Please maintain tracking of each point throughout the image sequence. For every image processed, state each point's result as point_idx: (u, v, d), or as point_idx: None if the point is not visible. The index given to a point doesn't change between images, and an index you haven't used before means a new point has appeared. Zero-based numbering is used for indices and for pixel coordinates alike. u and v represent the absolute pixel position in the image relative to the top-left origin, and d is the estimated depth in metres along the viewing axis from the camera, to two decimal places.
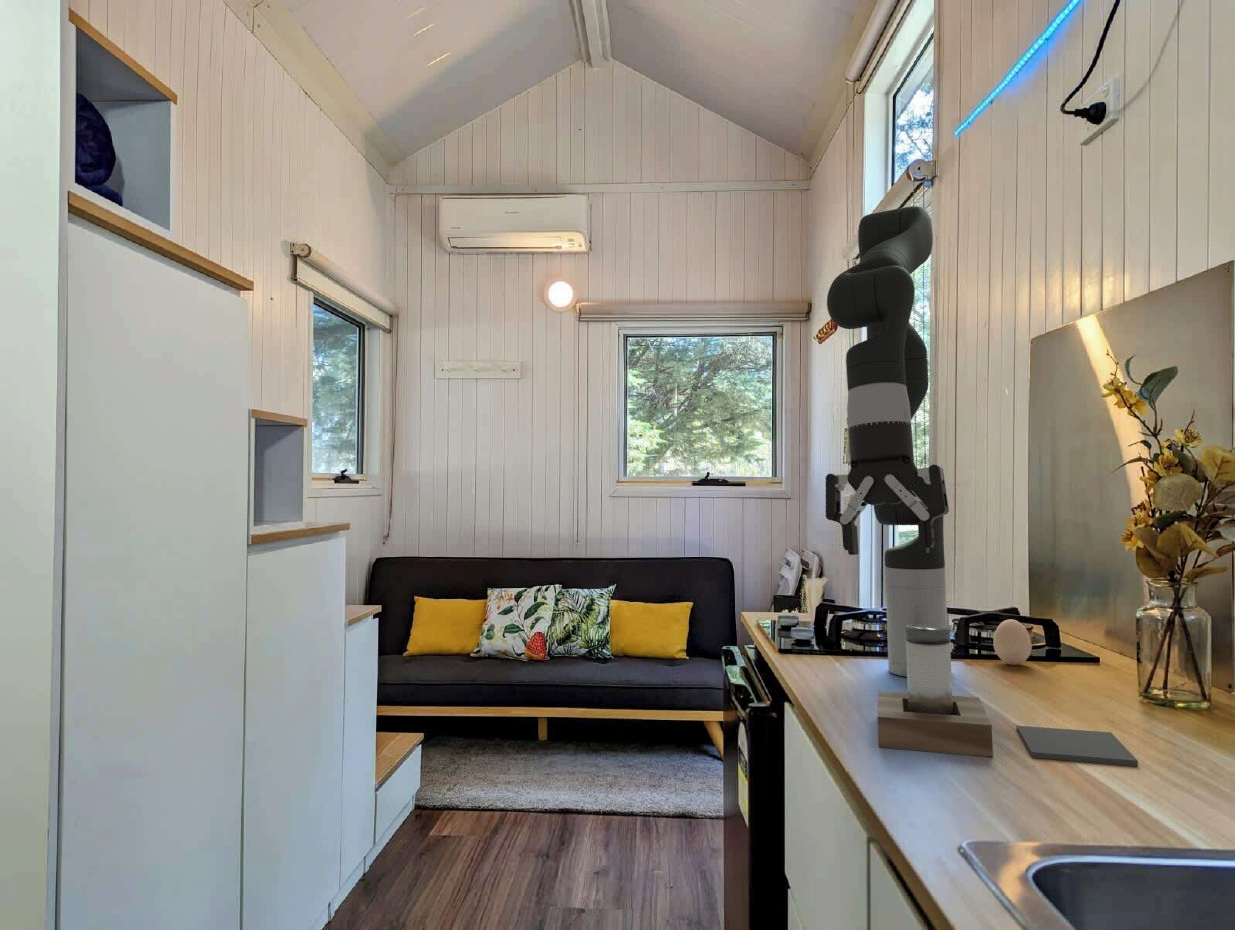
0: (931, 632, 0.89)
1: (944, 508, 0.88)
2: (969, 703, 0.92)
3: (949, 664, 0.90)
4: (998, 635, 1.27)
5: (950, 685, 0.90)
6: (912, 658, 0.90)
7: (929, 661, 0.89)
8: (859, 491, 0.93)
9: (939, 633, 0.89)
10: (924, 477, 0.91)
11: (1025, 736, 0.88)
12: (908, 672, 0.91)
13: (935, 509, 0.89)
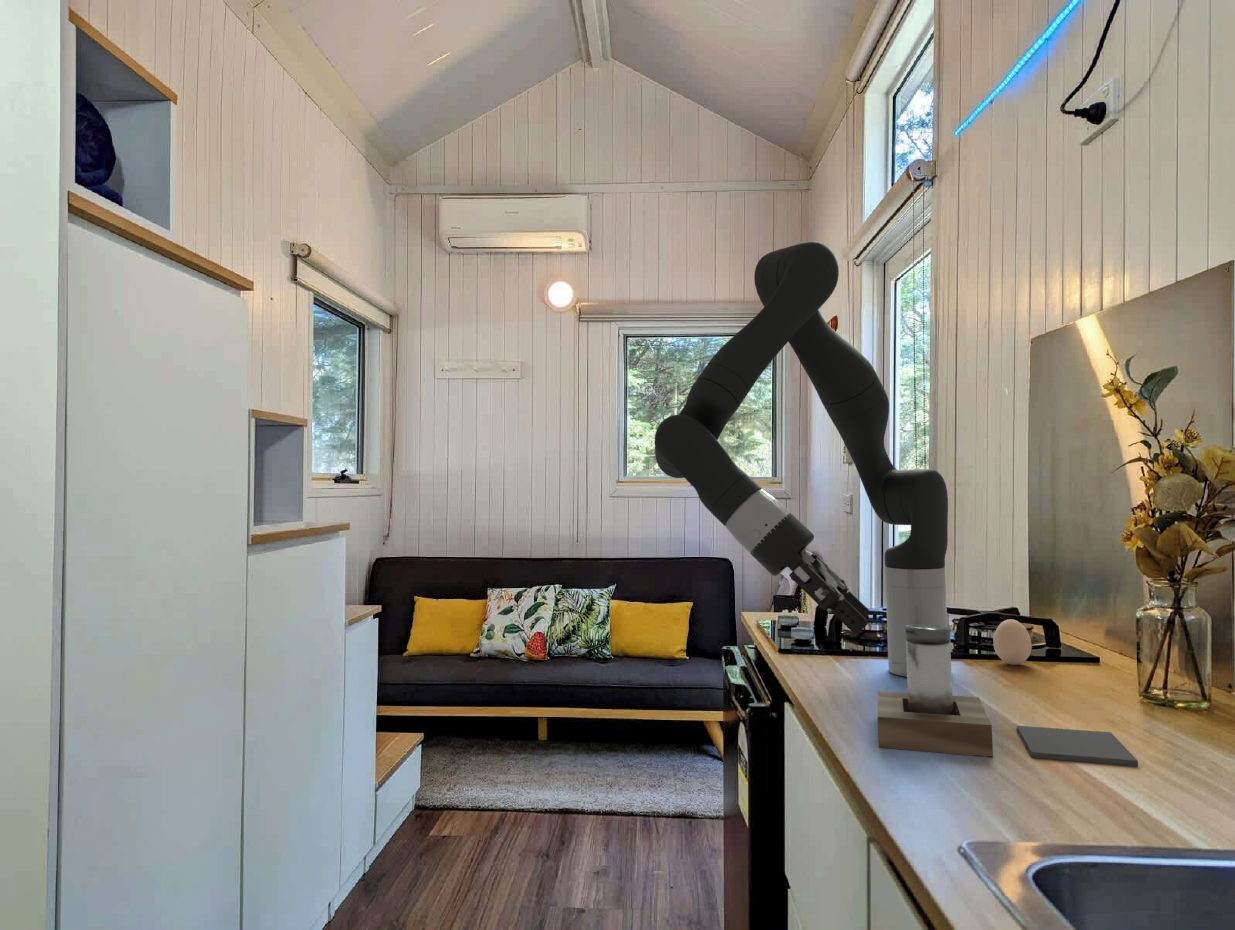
0: (931, 632, 0.89)
1: (822, 607, 0.89)
2: (969, 703, 0.92)
3: (949, 664, 0.90)
4: (998, 635, 1.27)
5: (950, 685, 0.90)
6: (912, 658, 0.90)
7: (929, 661, 0.89)
8: None
9: (939, 633, 0.89)
10: None
11: (1025, 736, 0.88)
12: (908, 672, 0.91)
13: None
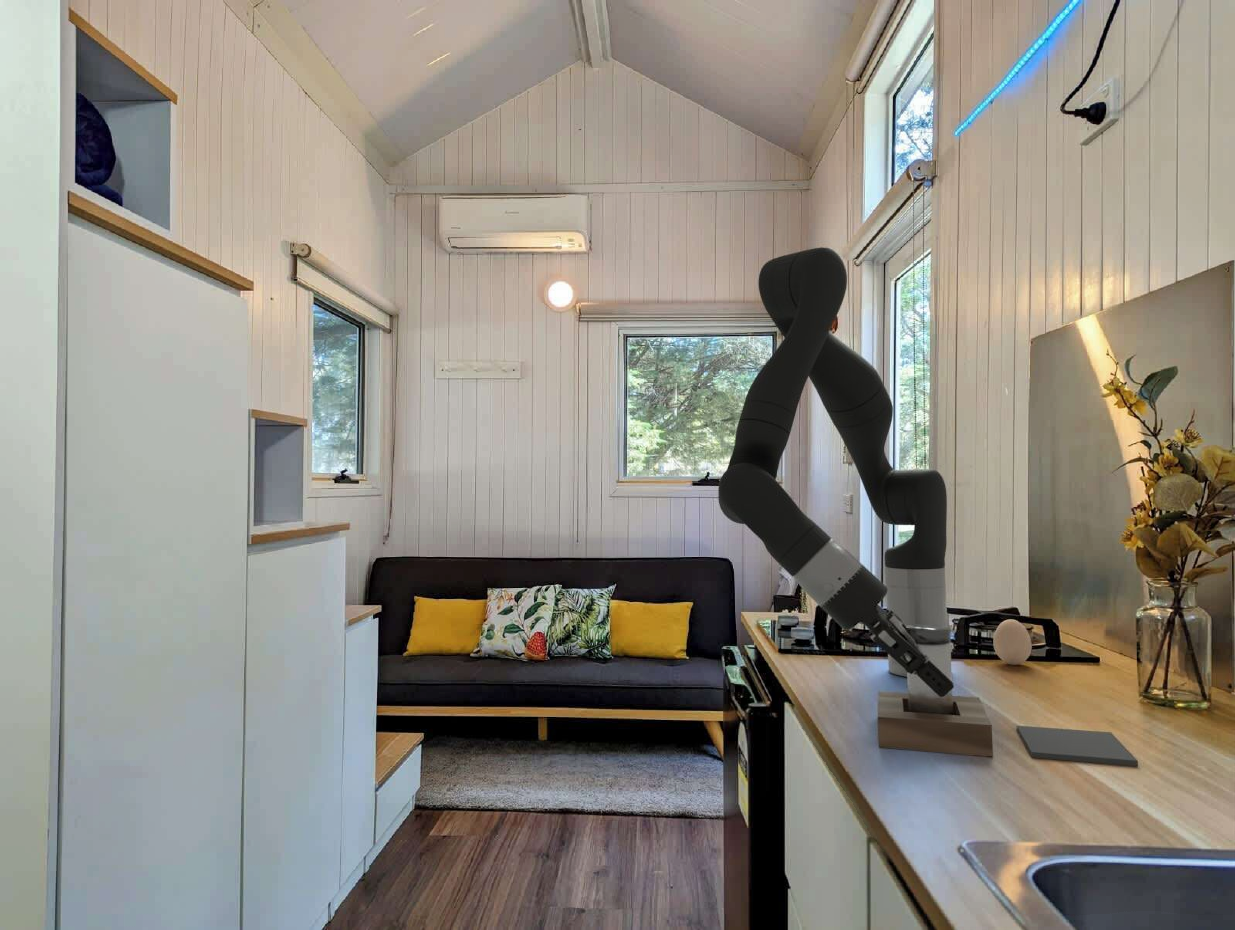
0: (931, 632, 0.89)
1: (909, 671, 0.87)
2: (969, 703, 0.92)
3: (949, 664, 0.90)
4: (998, 635, 1.27)
5: None
6: None
7: None
8: None
9: (939, 633, 0.89)
10: None
11: (1025, 736, 0.88)
12: None
13: None
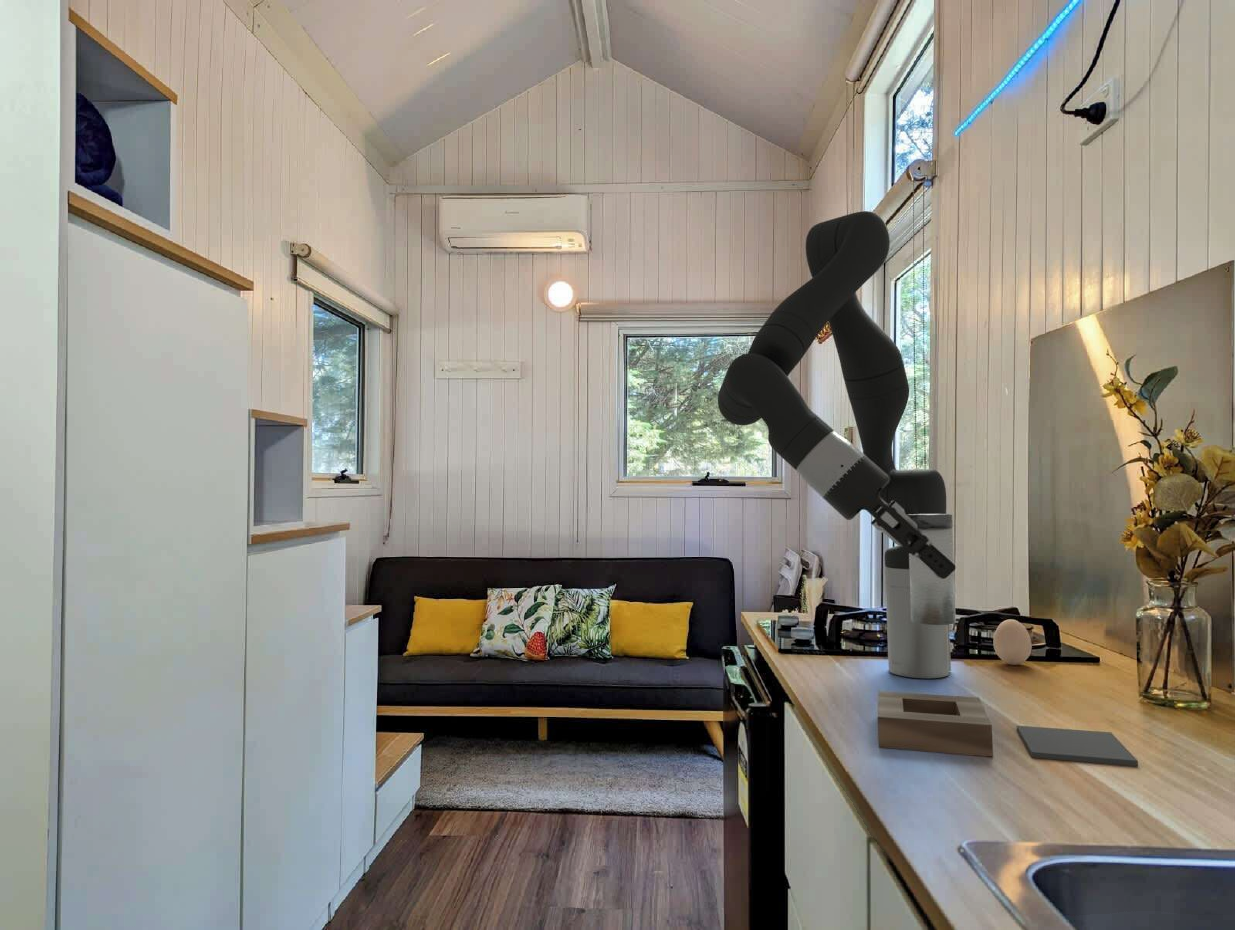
0: (933, 516, 0.89)
1: (911, 551, 0.87)
2: (969, 703, 0.92)
3: (951, 548, 0.90)
4: (998, 635, 1.27)
5: None
6: None
7: None
8: None
9: (941, 517, 0.89)
10: None
11: (1025, 736, 0.88)
12: (910, 558, 0.92)
13: None
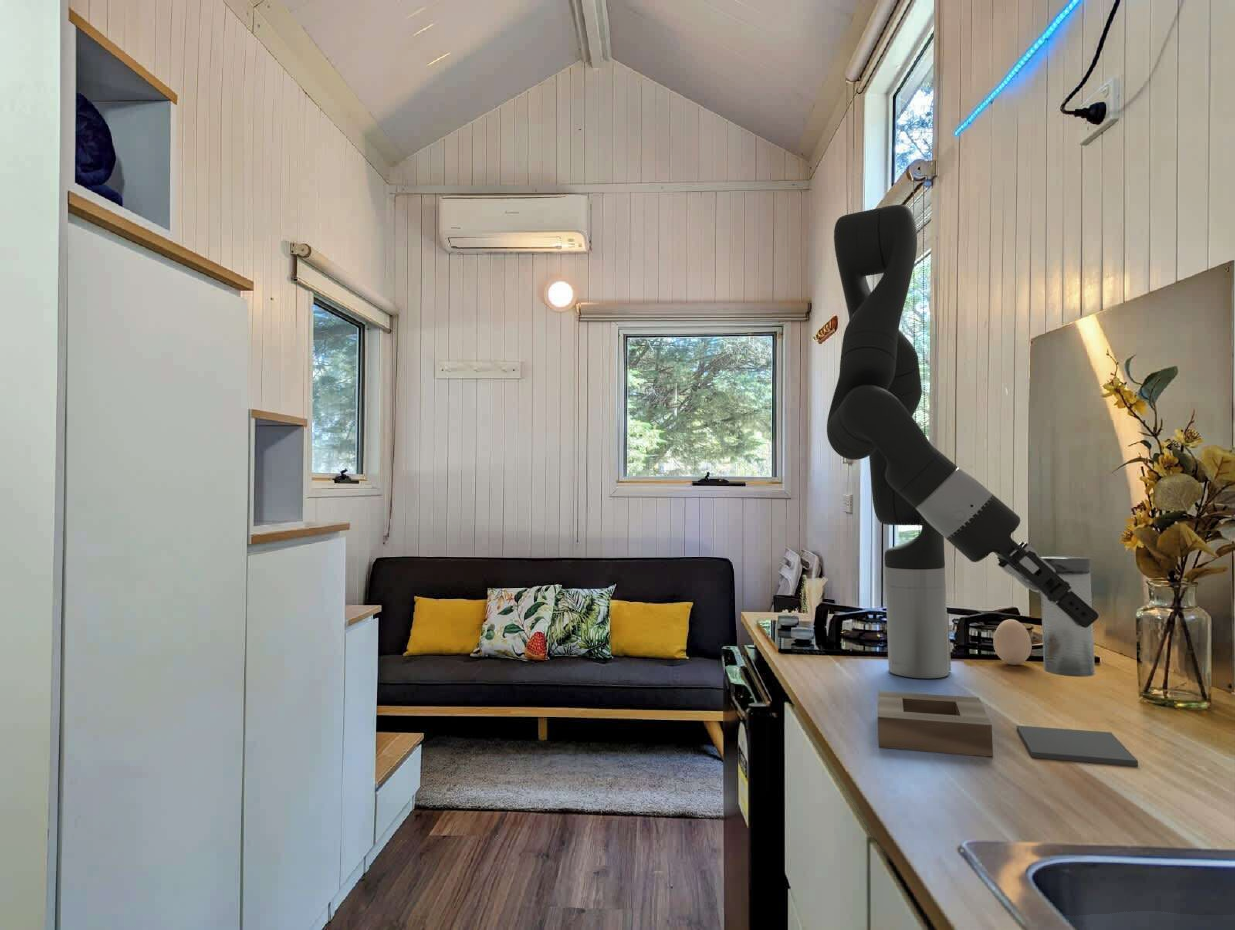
0: (1072, 560, 0.84)
1: (1052, 599, 0.82)
2: (969, 703, 0.92)
3: (1090, 595, 0.85)
4: (998, 635, 1.27)
5: None
6: (1050, 588, 0.86)
7: None
8: None
9: (1081, 561, 0.84)
10: None
11: (1025, 736, 0.88)
12: (1044, 604, 0.87)
13: None
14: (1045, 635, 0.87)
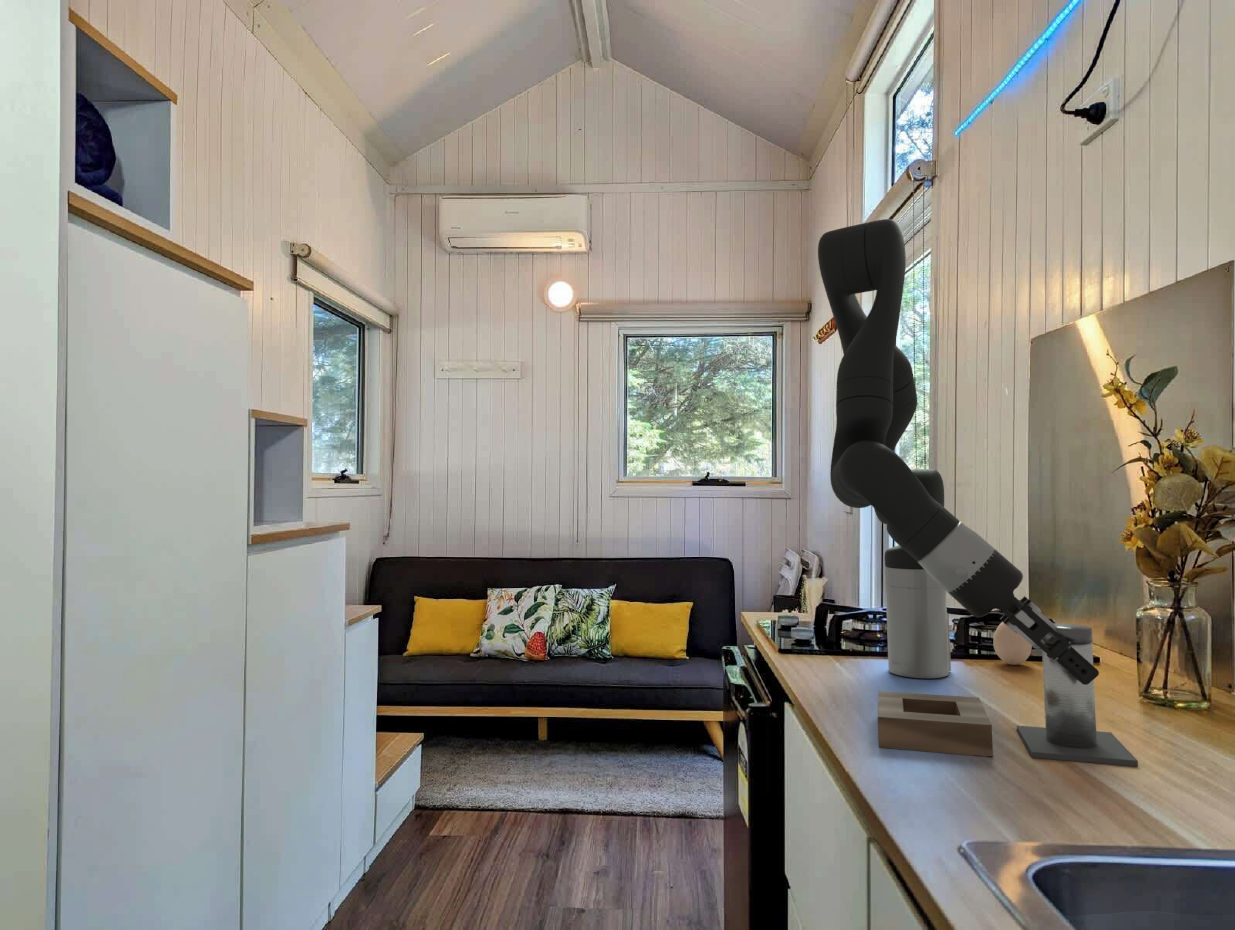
0: (1074, 631, 0.84)
1: (1050, 655, 0.81)
2: (969, 703, 0.92)
3: None
4: (998, 635, 1.27)
5: (1093, 687, 0.85)
6: None
7: None
8: None
9: (1082, 632, 0.84)
10: None
11: (1025, 736, 0.88)
12: (1046, 673, 0.87)
13: None
14: (1047, 704, 0.86)
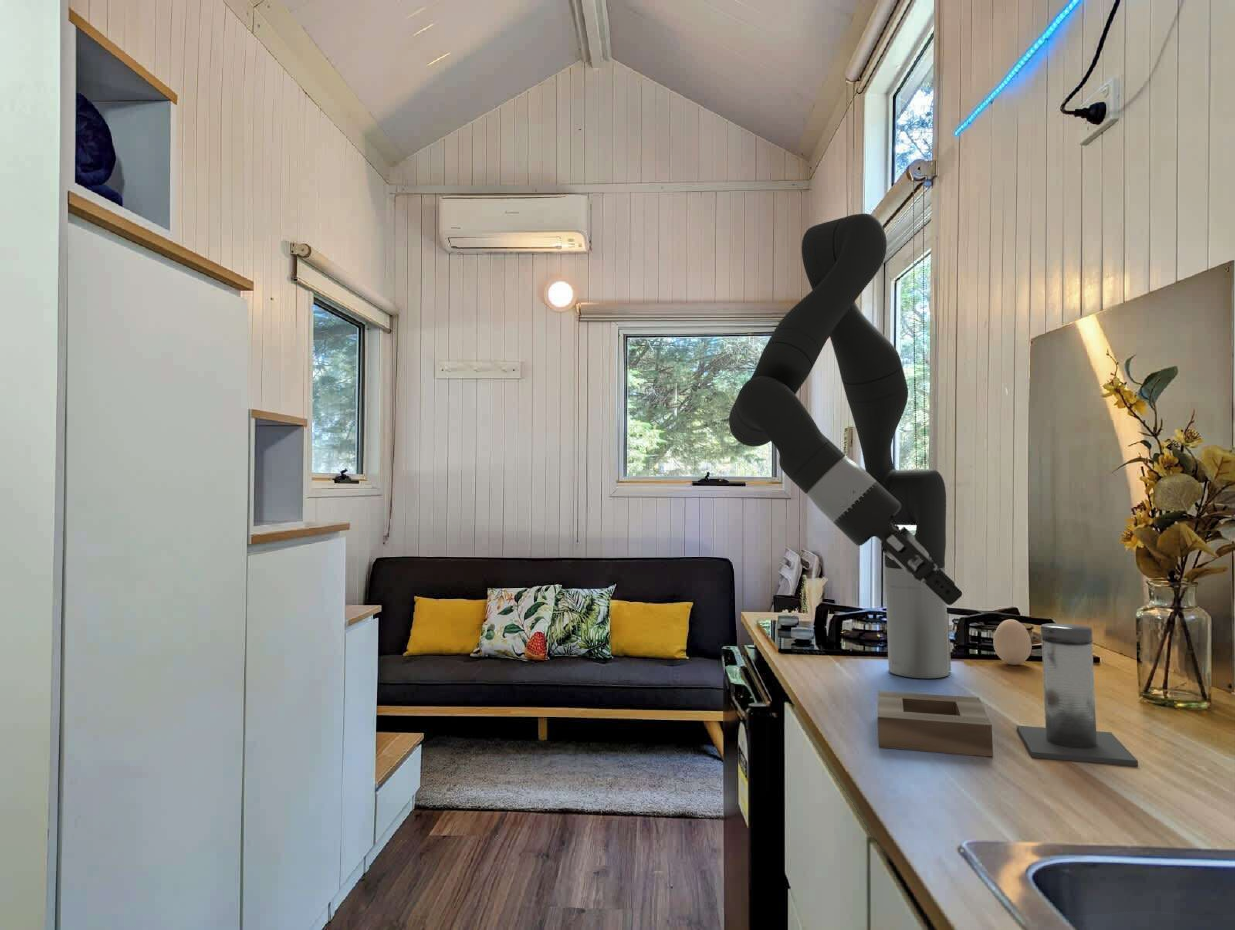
0: (1074, 631, 0.84)
1: (916, 576, 0.86)
2: (969, 703, 0.92)
3: (1092, 665, 0.85)
4: (998, 635, 1.27)
5: (1093, 687, 0.85)
6: (1052, 659, 0.86)
7: (1072, 662, 0.84)
8: None
9: (1082, 632, 0.84)
10: None
11: (1025, 736, 0.88)
12: (1046, 674, 0.87)
13: None
14: (1047, 704, 0.86)
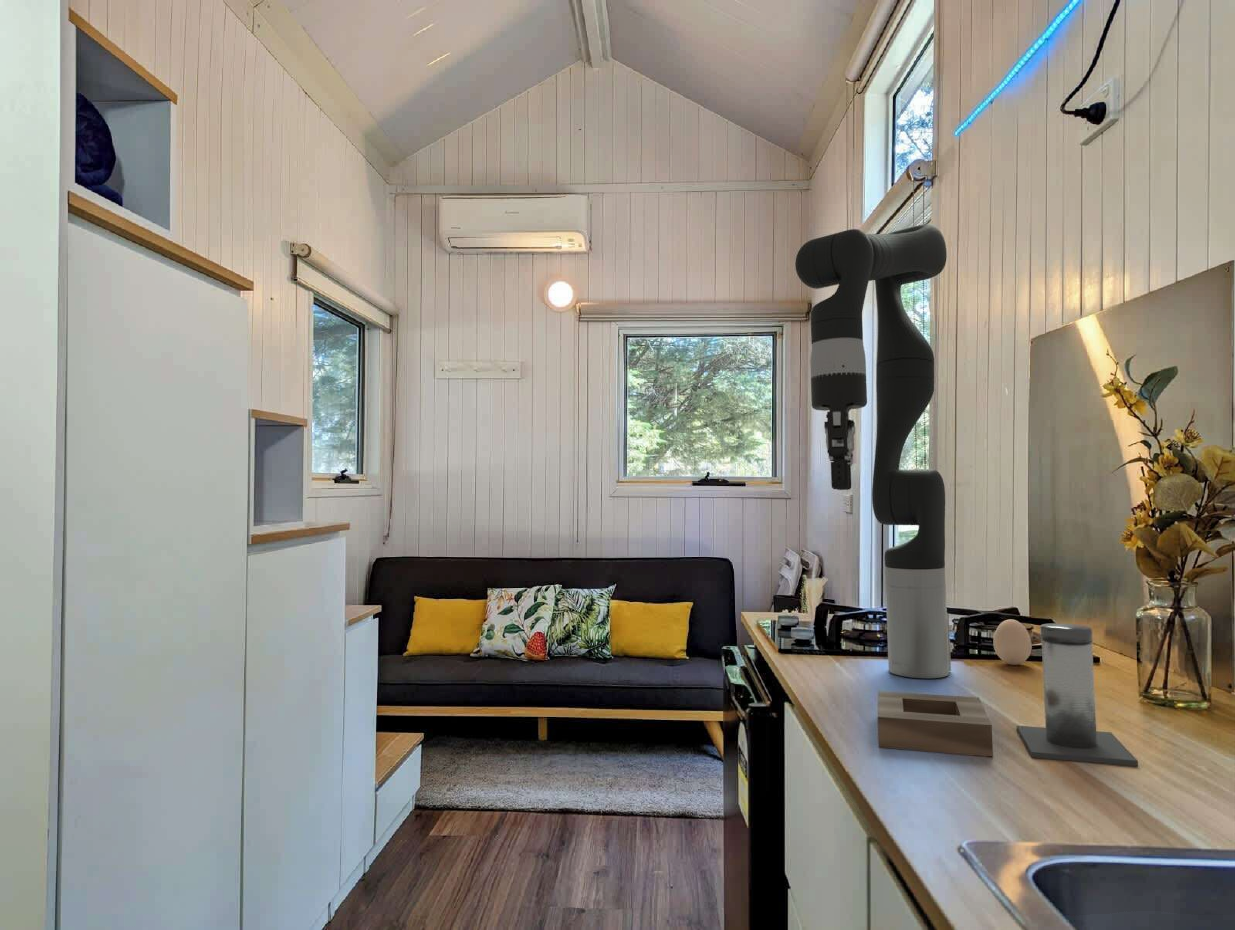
0: (1074, 632, 0.84)
1: (829, 450, 0.99)
2: (969, 703, 0.92)
3: (1092, 665, 0.85)
4: (998, 635, 1.27)
5: (1093, 687, 0.85)
6: (1052, 659, 0.86)
7: (1071, 662, 0.84)
8: None
9: (1082, 633, 0.84)
10: None
11: (1025, 736, 0.88)
12: (1046, 674, 0.86)
13: None
14: (1047, 705, 0.86)
